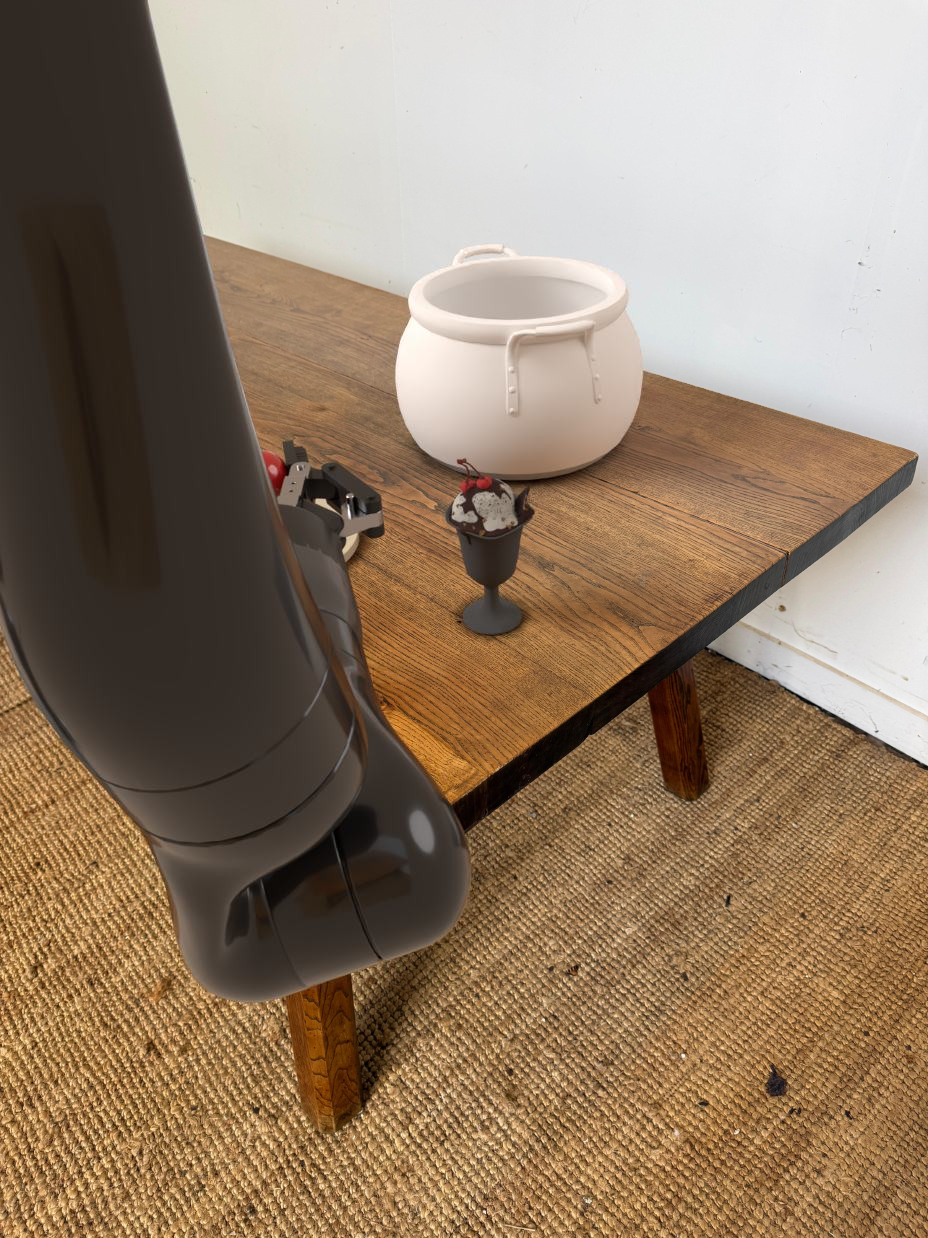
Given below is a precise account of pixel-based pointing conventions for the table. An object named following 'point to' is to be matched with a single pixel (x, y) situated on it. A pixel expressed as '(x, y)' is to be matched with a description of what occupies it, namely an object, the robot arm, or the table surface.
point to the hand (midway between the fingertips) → (257, 458)
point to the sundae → (489, 546)
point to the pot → (518, 364)
